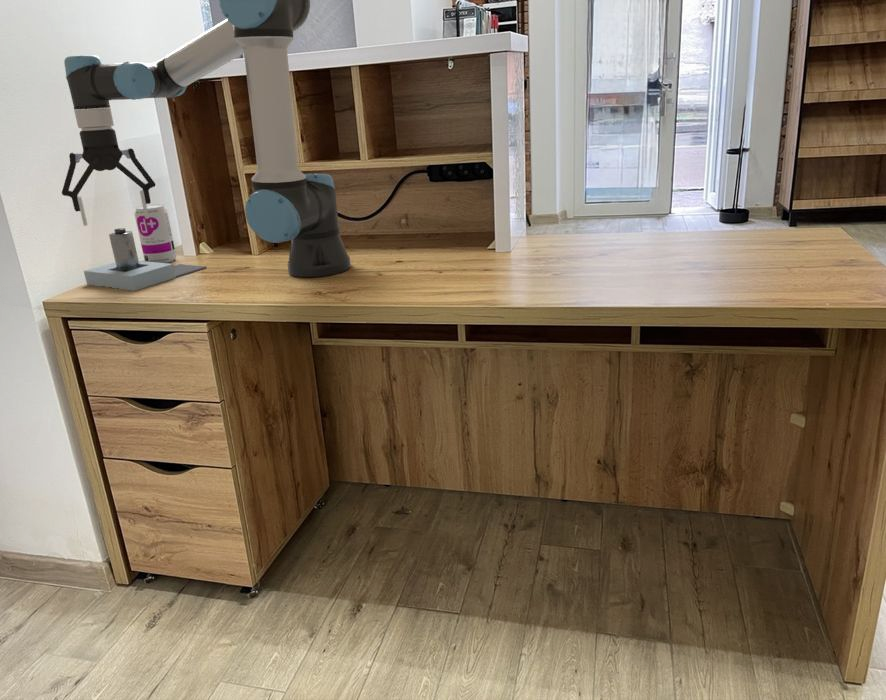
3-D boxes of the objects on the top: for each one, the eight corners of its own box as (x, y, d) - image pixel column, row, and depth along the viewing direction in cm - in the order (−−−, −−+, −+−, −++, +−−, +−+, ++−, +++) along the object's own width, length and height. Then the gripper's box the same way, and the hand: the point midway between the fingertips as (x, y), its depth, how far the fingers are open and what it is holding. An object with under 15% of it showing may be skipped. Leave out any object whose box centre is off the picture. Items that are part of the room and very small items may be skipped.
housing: (175, 277, 174) (172, 264, 172) (134, 290, 164) (131, 276, 163) (128, 272, 182) (125, 259, 181) (87, 284, 173) (83, 270, 172)
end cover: (147, 279, 174) (135, 227, 169) (129, 284, 170) (117, 231, 165) (133, 277, 177) (122, 226, 172) (115, 283, 172) (103, 230, 168)
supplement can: (166, 265, 188) (154, 209, 183) (139, 265, 190) (126, 209, 185) (182, 257, 196) (172, 203, 191) (156, 258, 198) (145, 204, 192)
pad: (206, 268, 182) (206, 266, 182) (175, 277, 174) (175, 276, 174) (180, 265, 186) (180, 264, 186) (149, 274, 178) (148, 273, 178)
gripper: (153, 124, 168) (170, 212, 176) (36, 132, 159) (59, 225, 167) (155, 125, 162) (172, 217, 170) (34, 133, 153) (58, 230, 160)
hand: (116, 221), depth 168 cm, fingers open, 13 cm apart
